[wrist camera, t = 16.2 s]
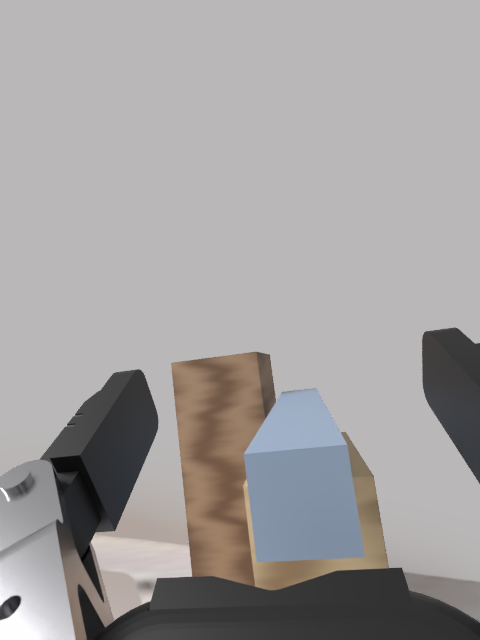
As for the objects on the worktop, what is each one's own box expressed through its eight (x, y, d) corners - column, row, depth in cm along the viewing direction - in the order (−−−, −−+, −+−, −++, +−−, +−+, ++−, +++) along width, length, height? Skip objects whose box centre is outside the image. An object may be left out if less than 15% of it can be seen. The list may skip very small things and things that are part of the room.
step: (387, 695, 33) (345, 432, 36) (449, 936, 19) (373, 475, 22) (297, 695, 34) (264, 440, 37) (295, 921, 20) (243, 486, 23)
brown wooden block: (298, 569, 55) (269, 354, 59) (297, 668, 37) (256, 351, 41) (232, 572, 56) (209, 362, 60) (201, 669, 38) (171, 363, 43)
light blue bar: (321, 422, 43) (316, 388, 43) (365, 557, 13) (347, 444, 14) (287, 426, 43) (282, 392, 44) (256, 562, 14) (243, 454, 15)
